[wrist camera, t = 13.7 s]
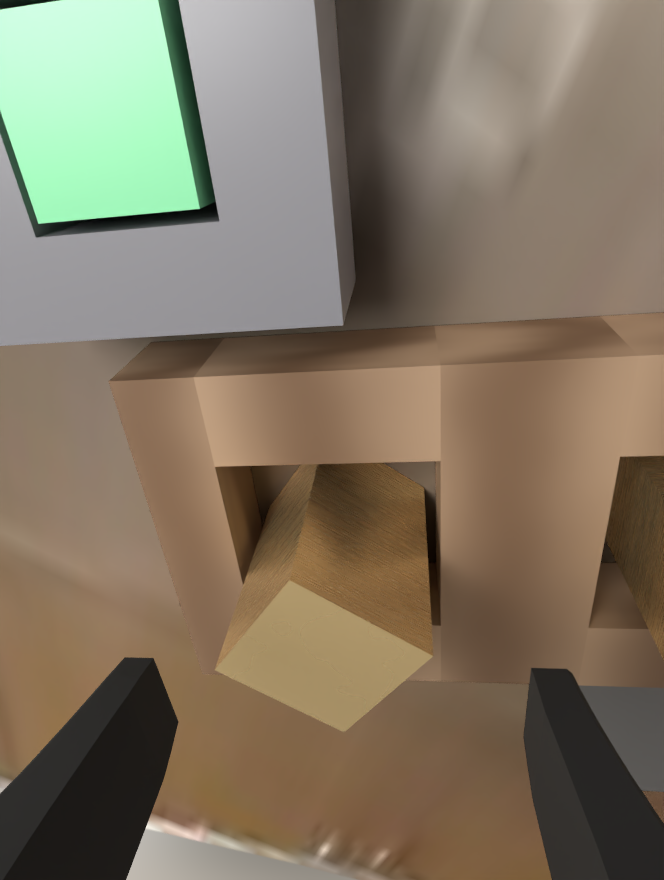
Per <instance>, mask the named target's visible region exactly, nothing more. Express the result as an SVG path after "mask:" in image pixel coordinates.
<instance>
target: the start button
mask: <svg viewBox="0 0 664 880" xmlns="http://www.w3.org/2000/svg"><path fill="white" fill-rule="evenodd" d="M0 111H1V114H2V117H3V120H4V123H5V126H6V129H7V132H8V135H9V138H10V141H11V144H12V147H13V150H14V153H15V156H16V159H17V162H18V165H19V168H20V171H21V173H22V176H23V179H24V182H25V185H26V188H27V191H28V194H29V197H30V200H31V203H32V206H33V209H34V212H35V215H36V218H37V221H38V224H41V223H52V222H63V221H74V220H84V219H95V218H106V217H117V216H128V215H138V214H149V213H160V212H171V211H182V210H192V209H200V208H203V207H205V206H207V205H209V204H211V203H213V202H215V201H216V200H215V194H214V189H213V183H212V178H211V173H210V167H209V162H208V156H207V151H206V146H205V140H204V135H203V130H202V124H201V119H200V113H199V108H198V103H197V97H196V92H195V86H194V81H193V76H192V70H191V65H190V59H189V54H188V49H187V43H186V38H185V33H184V27H183V22H182V16H181V11H180V6H179V0H60V1H53V2H47V3H40V4H34V5H27V6H21V7H14V8H8V9H1V10H0Z"/></svg>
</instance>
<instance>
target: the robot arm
mask: <svg viewBox="0 0 664 880" xmlns="http://www.w3.org/2000/svg"><path fill="white" fill-rule="evenodd" d="M177 725H178V720H177V717H176V715H175V712H174V710H173V707H172V704H171V702H170V699H169V697H168V694H167V692H166V689H165V686H164V684H163V681H162V679H161V676H160V674H159V671H158V668H157V666H156V663H155V661H154V658H124V659H123V660H122V661H121V662H120V663H119V664H118V666H117V667H116V668H115V669H114V670H113V671H112V672H111V673H110V674H109V676H108V677H107V678H106V679H105V680H104V681H103V682H102V683H101V685H100V686H99V687H98V688H97V689H96V690H95V691H94V693H93V694H92V695H91V696H90V697H89V698H88V699H87V700H86V702H85V703H84V704H83V705H82V706H81V707H80V708H79V710H78V711H77V712H76V713H75V714H74V715H73V716H72V717H71V719H70V720H69V721H68V722H67V723H66V724H65V725H64V726H63V727H62V729H61V730H60V731H59V732H58V733H57V734H56V735H55V736H54V737H53V738H52V739H51V741H50V742H49V743H48V744H47V745H46V746H45V747H44V748H43V749H42V750H41V751H40V753H39V754H38V755H37V756H36V757H35V758H34V759H33V760H32V761H31V762H30V763H29V765H28V766H27V767H26V768H25V769H24V770H23V771H22V772H21V773H20V774H19V775H18V776H17V777H16V778H15V779H14V780H13V781H12V782H11V783H10V784H9V785H8V786H7V787H6V788H5V789H4V790H3V792H1V793H0V880H126V878H127V876H128V873H129V870H130V868H131V865H132V862H133V859H134V857H135V854H136V852H137V849H138V847H139V844H140V841H141V838H142V836H143V833H144V831H145V828H146V825H147V823H148V820H149V817H150V815H151V812H152V809H153V807H154V804H155V801H156V798H157V796H158V793H159V790H160V788H161V785H162V782H163V779H164V776H165V772H166V769H167V765H168V761H169V757H170V754H171V750H172V746H173V742H174V737H175V733H176V729H177ZM524 743H525V750H526V758H527V765H528V772H529V778H530V785H531V791H532V798H533V803H534V807H535V811H536V815H537V819H538V824H539V828H540V832H541V836H542V840H543V844H544V848H545V853H546V857H547V861H548V865H549V869H550V873H551V877H552V880H664V823H663V822H662V820H661V819H660V818H659V816H658V815H657V813H656V812H655V810H654V809H653V807H652V806H651V804H650V803H649V801H648V800H647V798H646V797H645V795H644V793H643V792H642V790H641V789H640V787H639V786H638V784H637V783H636V781H635V780H634V778H633V777H632V775H631V774H630V772H629V771H628V769H627V767H626V766H625V764H624V763H623V761H622V760H621V758H620V756H619V755H618V753H617V752H616V750H615V748H614V747H613V745H612V743H611V742H610V740H609V738H608V737H607V735H606V733H605V732H604V730H603V728H602V727H601V725H600V723H599V721H598V720H597V718H596V716H595V714H594V713H593V711H592V709H591V707H590V706H589V704H588V702H587V700H586V698H585V696H584V695H583V693H582V691H581V689H580V687H579V685H578V683H577V681H576V679H575V677H574V675H573V673H571V672H570V671H569V670H568V669H556V668H531V674H530V683H529V692H528V701H527V710H526V719H525V728H524Z"/></svg>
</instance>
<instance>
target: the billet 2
mask: <svg viewBox="0 0 664 880" xmlns="http://www.w3.org/2000/svg"><path fill="white" fill-rule="evenodd" d="M605 539H606V541H607V543H608V545H609V548H610V550H611V552H612V554H613V556H614V558H615V560H616V562H617V564H618V566H619V568H620V570H621V573H622V575H623V577H624V579H625V581H626V583H627V585H628V587H629V589H630V591H631V593H632V595H633V598H634V600H635V602H636V604H637V606H638V608H639V610H640V612H641V614H642V616H643V618H644V621H645V623H646V625H647V627H648V629H649V631H650V633H651V635H652V637H653V639H654V641H655V643H656V646H657V648H658V650H659V652H660V654H661V656H662V658H663V660H664V456H629V457H620V460H619V466H618V471H617V476H616V482H615V487H614V493H613V498H612V503H611V509H610V514H609V520H608V525H607V530H606V536H605Z"/></svg>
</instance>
